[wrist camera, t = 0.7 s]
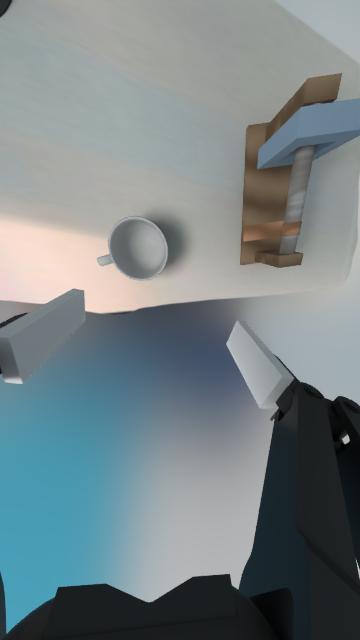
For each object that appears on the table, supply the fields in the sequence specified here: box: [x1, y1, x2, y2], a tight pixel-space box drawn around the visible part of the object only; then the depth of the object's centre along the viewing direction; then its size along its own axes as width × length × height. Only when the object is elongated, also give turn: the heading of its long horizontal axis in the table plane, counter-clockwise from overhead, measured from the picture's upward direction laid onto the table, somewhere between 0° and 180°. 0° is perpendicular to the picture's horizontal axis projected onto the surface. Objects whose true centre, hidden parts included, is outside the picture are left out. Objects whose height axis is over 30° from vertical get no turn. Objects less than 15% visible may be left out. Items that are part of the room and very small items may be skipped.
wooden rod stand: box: [240, 73, 342, 268], centre depth 29 cm, size 23×10×10 cm, turn 7°
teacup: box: [97, 216, 168, 281], centre depth 33 cm, size 14×11×8 cm
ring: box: [257, 98, 360, 169], centre depth 23 cm, size 2×9×10 cm, turn 97°
